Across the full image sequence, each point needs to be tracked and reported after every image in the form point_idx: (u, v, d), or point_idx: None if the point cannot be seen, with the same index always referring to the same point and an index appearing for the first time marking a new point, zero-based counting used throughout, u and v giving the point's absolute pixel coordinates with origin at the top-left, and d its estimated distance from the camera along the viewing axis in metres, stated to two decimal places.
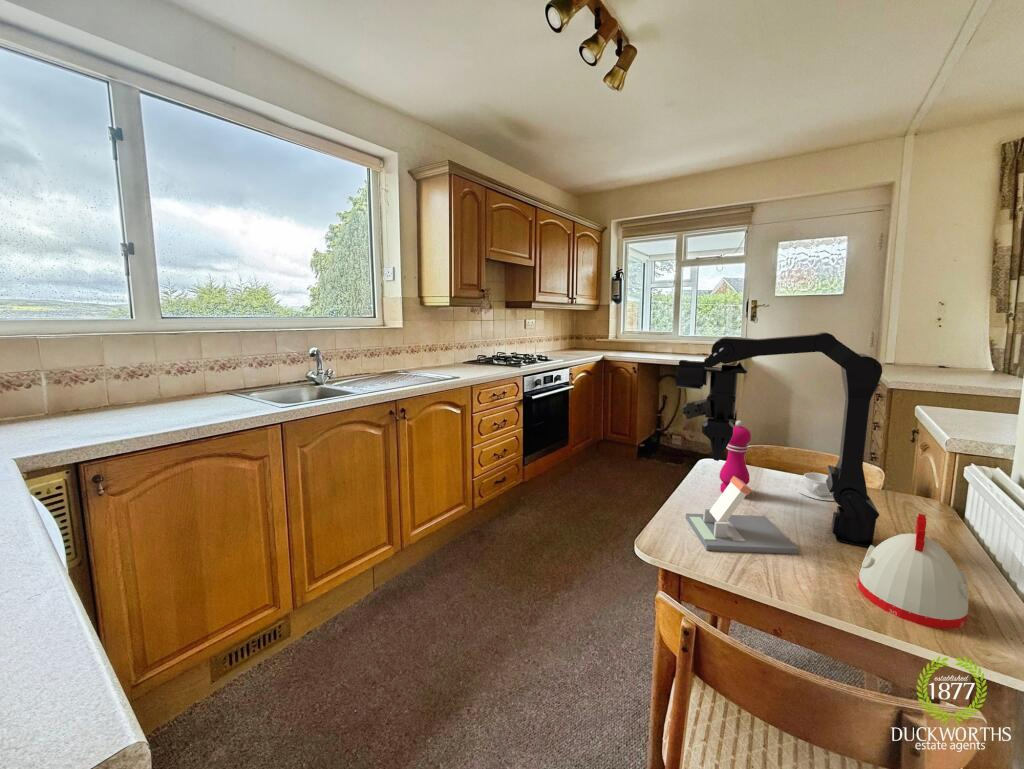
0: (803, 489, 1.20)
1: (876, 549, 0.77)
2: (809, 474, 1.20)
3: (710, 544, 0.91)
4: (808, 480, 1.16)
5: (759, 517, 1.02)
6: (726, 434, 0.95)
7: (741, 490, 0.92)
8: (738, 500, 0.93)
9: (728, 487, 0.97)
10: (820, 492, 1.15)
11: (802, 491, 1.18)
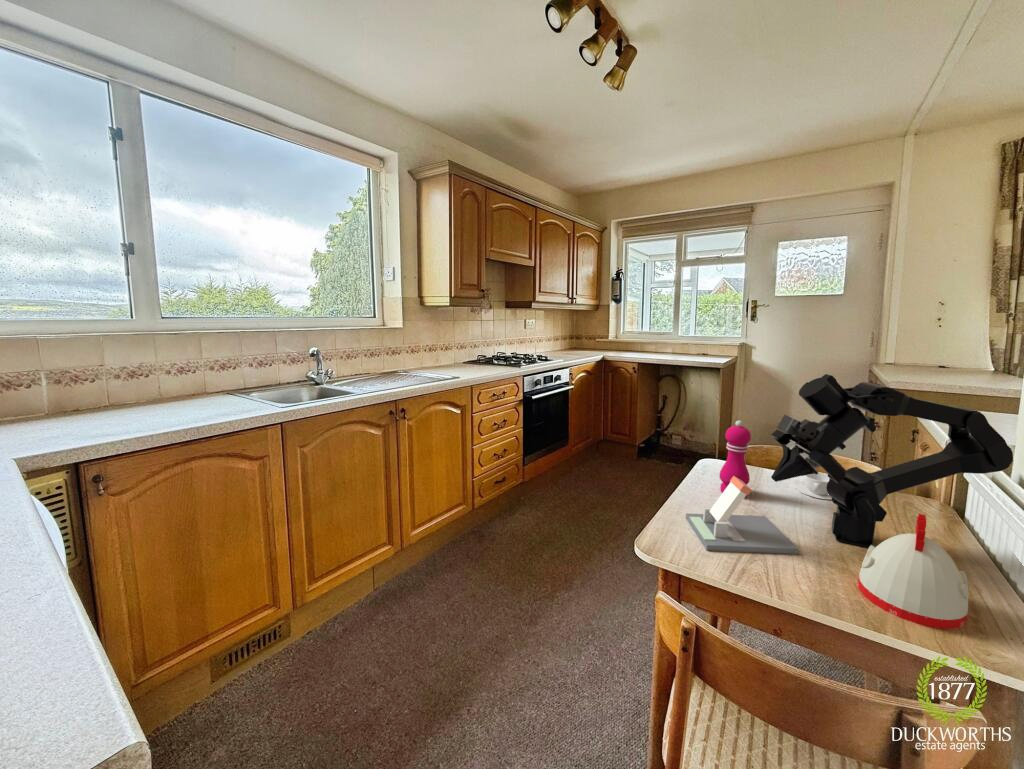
0: (803, 488, 1.20)
1: (876, 549, 0.77)
2: None
3: (710, 544, 0.91)
4: (809, 479, 1.17)
5: (759, 517, 1.02)
6: (837, 478, 0.84)
7: (741, 490, 0.92)
8: (738, 500, 0.93)
9: (728, 487, 0.97)
10: (820, 491, 1.15)
11: (802, 490, 1.19)
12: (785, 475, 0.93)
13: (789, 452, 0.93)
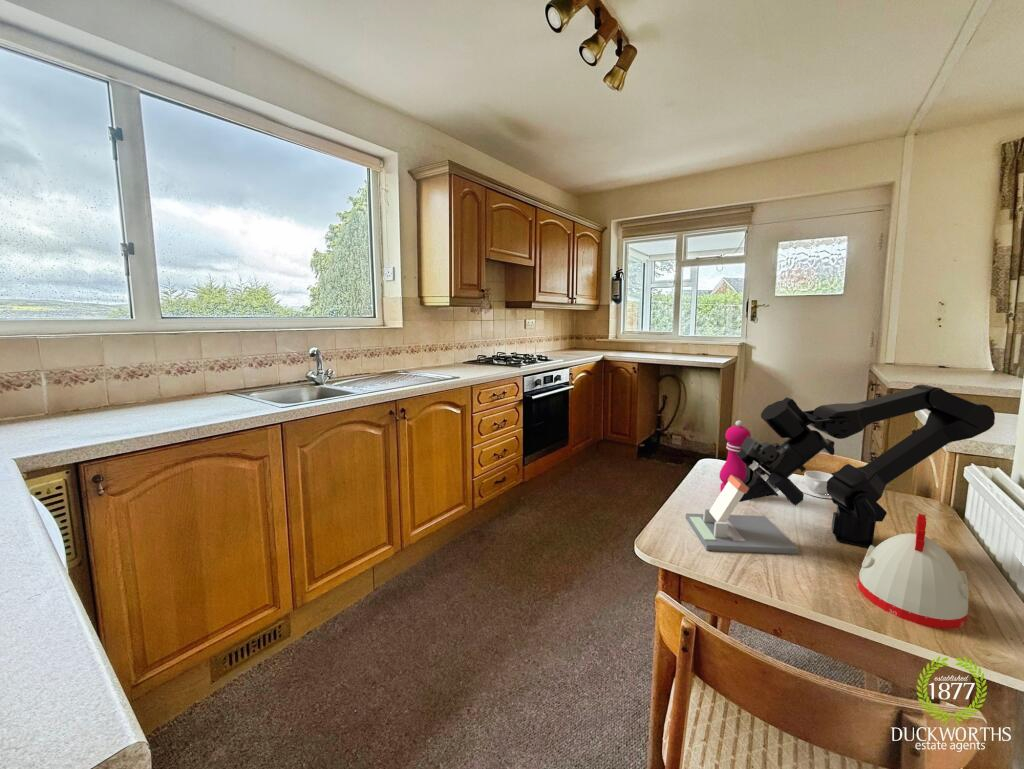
0: (804, 487, 1.21)
1: (876, 549, 0.77)
2: (809, 472, 1.21)
3: (710, 544, 0.91)
4: (809, 478, 1.18)
5: (759, 517, 1.02)
6: (794, 502, 0.85)
7: (739, 489, 0.92)
8: (736, 499, 0.93)
9: (726, 486, 0.97)
10: (821, 490, 1.16)
11: (802, 489, 1.19)
12: (747, 496, 0.94)
13: (751, 473, 0.95)
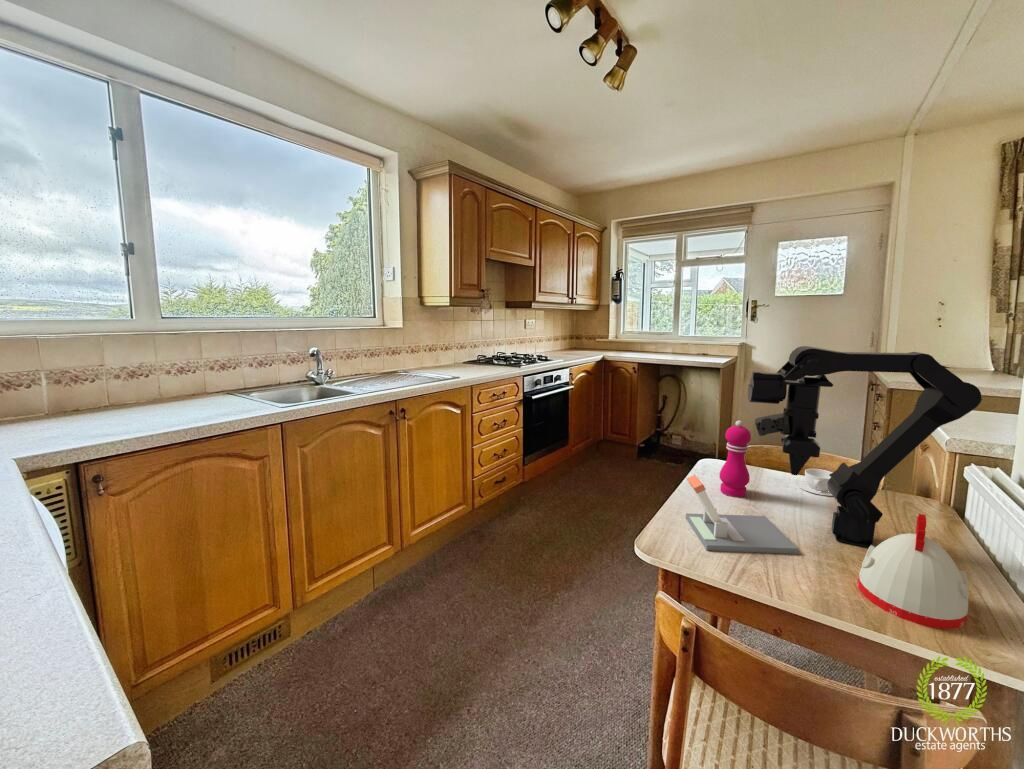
0: (804, 485, 1.23)
1: (876, 549, 0.77)
2: (810, 470, 1.23)
3: (710, 544, 0.91)
4: (809, 476, 1.19)
5: (759, 517, 1.02)
6: (812, 454, 0.86)
7: (697, 492, 0.93)
8: (705, 499, 0.93)
9: (694, 489, 0.98)
10: (821, 487, 1.18)
11: (803, 487, 1.21)
12: (797, 466, 0.95)
13: None
